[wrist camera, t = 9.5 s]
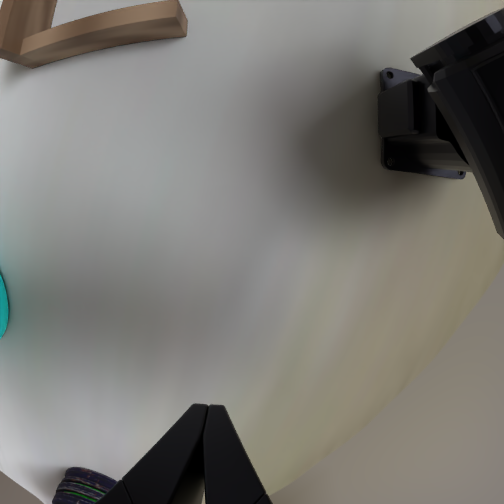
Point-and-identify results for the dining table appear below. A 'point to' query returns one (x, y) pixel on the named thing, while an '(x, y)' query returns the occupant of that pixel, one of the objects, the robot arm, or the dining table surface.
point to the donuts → (3, 308)
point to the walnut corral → (81, 29)
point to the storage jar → (82, 487)
